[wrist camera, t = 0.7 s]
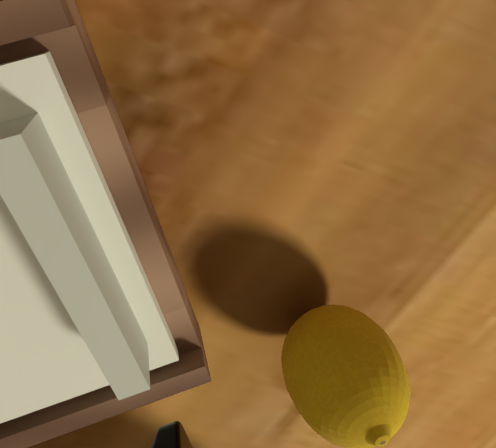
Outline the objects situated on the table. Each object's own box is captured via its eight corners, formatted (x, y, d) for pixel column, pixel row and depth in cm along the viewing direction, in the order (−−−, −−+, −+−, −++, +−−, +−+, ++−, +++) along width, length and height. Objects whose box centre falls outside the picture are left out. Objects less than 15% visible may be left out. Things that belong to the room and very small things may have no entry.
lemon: (243, 324, 23) (292, 460, 16) (321, 258, 23) (406, 370, 16) (302, 369, 26) (365, 502, 19) (373, 311, 25) (465, 427, 18)
